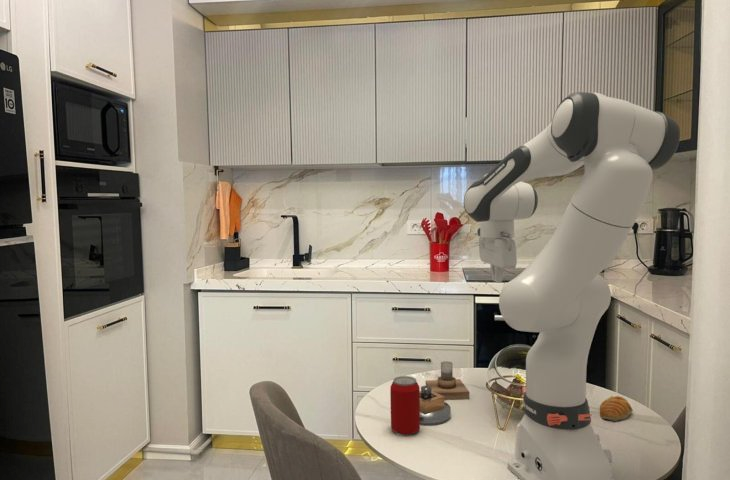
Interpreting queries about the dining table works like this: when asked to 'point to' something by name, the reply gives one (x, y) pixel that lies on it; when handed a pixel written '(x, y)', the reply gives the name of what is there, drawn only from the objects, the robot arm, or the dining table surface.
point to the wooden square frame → (432, 403)
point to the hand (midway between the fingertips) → (497, 281)
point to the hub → (436, 416)
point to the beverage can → (405, 405)
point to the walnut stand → (448, 384)
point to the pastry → (615, 408)
